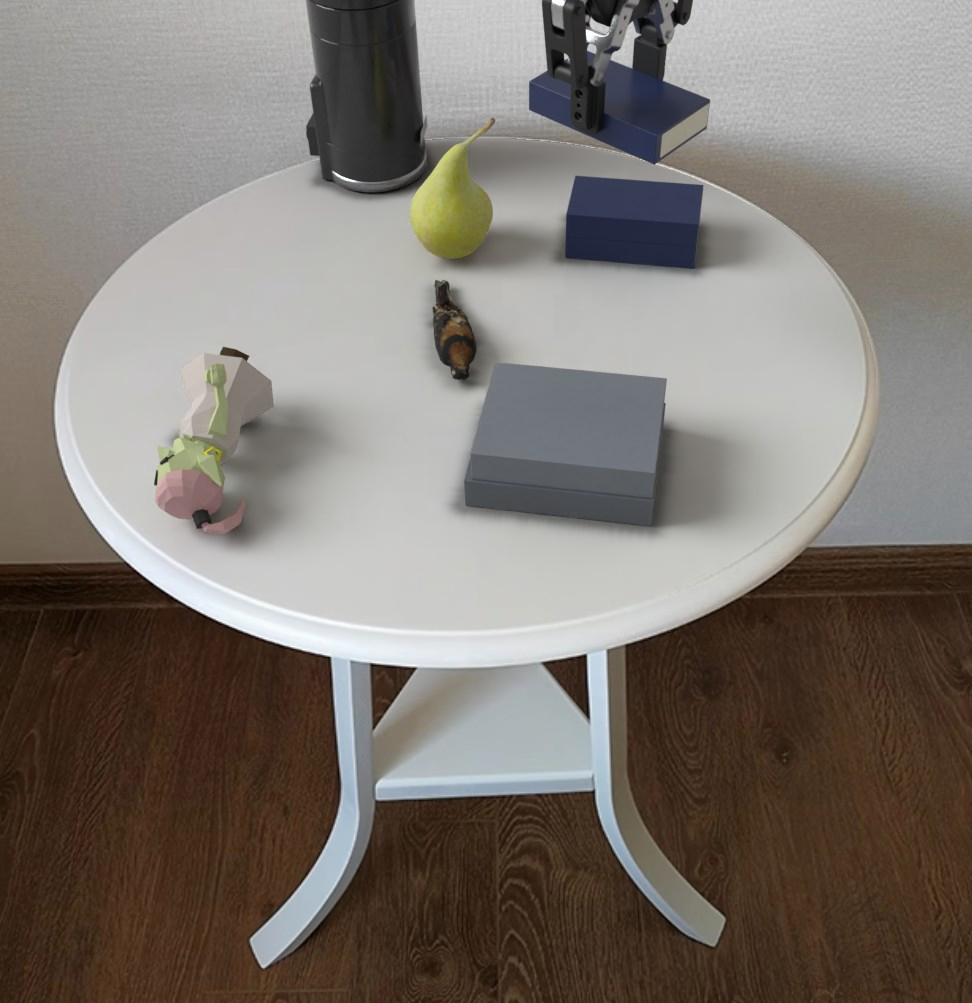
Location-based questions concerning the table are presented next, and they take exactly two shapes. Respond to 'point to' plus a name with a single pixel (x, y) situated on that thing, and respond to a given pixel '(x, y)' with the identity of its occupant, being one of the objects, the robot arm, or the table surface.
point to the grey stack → (568, 444)
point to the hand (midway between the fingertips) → (617, 109)
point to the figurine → (210, 436)
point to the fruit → (452, 206)
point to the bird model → (452, 333)
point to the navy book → (630, 111)
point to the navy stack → (633, 221)
